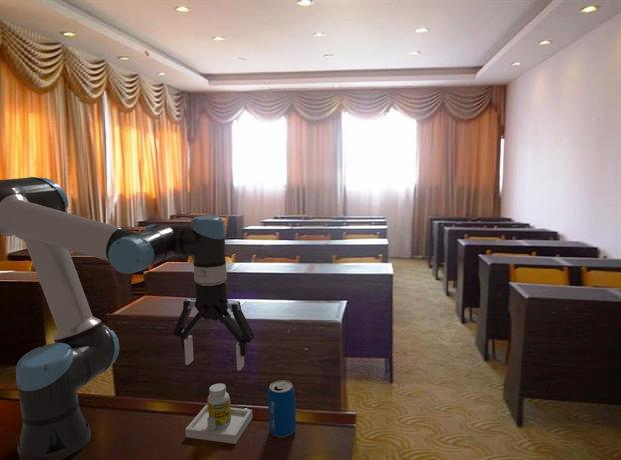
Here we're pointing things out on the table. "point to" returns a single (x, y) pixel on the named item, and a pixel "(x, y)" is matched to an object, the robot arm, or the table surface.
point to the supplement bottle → (219, 405)
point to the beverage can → (282, 408)
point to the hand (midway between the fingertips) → (214, 365)
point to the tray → (207, 429)
